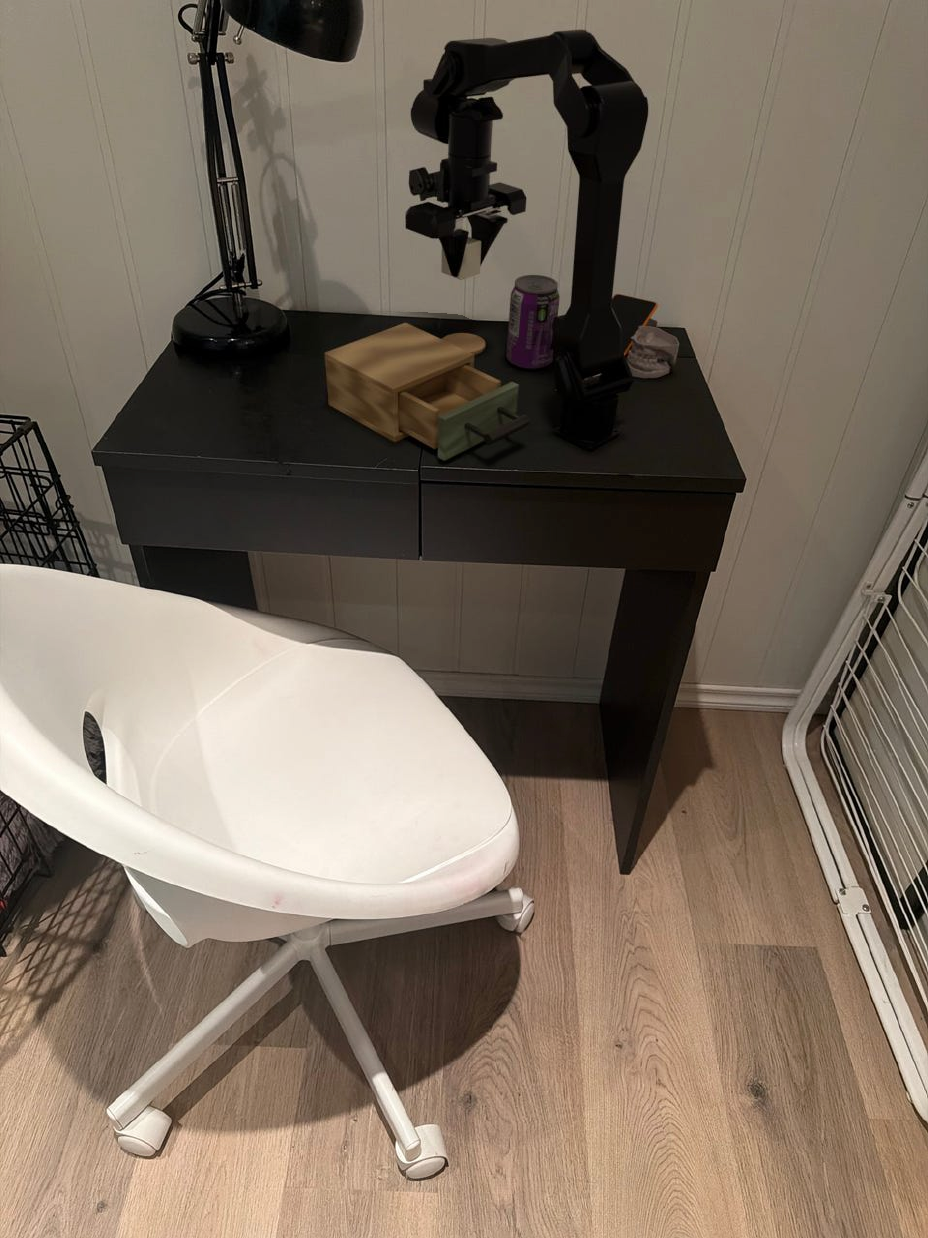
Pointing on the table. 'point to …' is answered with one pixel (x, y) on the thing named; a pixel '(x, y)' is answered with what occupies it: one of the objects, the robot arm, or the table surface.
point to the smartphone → (631, 316)
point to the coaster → (466, 342)
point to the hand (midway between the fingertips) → (465, 272)
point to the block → (466, 260)
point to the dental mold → (651, 352)
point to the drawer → (459, 411)
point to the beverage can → (532, 321)
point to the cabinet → (386, 373)
